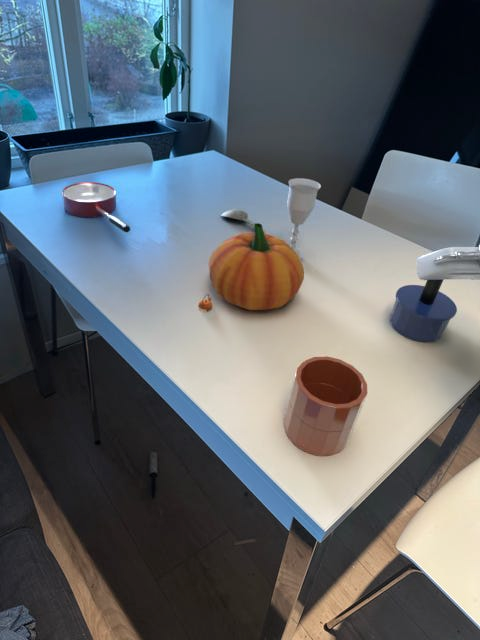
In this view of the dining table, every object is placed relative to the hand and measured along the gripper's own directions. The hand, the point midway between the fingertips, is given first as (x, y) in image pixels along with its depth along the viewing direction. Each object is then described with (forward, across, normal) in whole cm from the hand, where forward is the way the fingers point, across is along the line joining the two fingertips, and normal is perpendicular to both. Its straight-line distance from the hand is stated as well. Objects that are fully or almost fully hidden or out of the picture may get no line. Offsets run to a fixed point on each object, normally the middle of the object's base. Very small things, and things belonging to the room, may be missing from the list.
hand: (449, 275), depth 79 cm
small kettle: (+18, -41, -2) cm, 45 cm away
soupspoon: (+42, -25, +22) cm, 53 cm away
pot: (-4, -28, -24) cm, 37 cm away
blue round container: (+12, 0, -8) cm, 14 cm away
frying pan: (+45, -62, +24) cm, 80 cm away
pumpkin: (+22, -31, +1) cm, 37 cm away
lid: (+8, 0, -4) cm, 9 cm away
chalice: (+32, -18, +12) cm, 38 cm away
